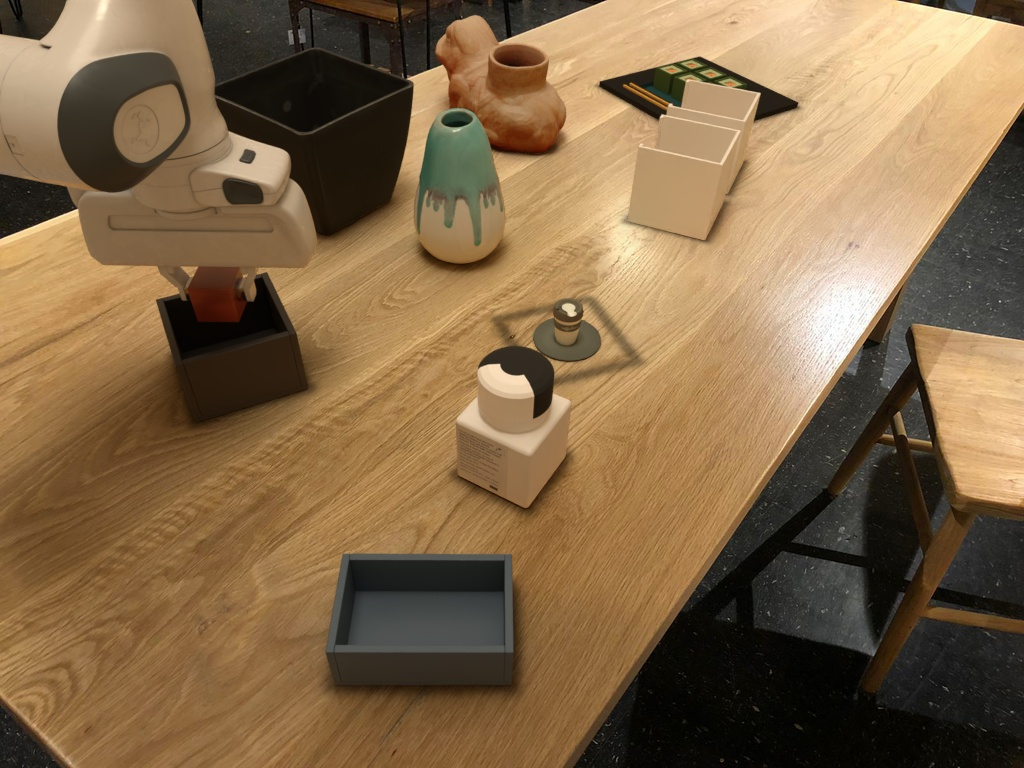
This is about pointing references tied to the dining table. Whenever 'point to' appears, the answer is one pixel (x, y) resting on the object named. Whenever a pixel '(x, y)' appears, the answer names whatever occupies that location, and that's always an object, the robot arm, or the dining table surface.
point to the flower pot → (326, 128)
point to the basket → (234, 353)
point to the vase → (458, 191)
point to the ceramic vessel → (501, 87)
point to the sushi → (668, 85)
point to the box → (422, 620)
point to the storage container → (693, 159)
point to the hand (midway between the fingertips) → (220, 297)
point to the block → (216, 294)
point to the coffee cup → (567, 333)
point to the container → (513, 426)
